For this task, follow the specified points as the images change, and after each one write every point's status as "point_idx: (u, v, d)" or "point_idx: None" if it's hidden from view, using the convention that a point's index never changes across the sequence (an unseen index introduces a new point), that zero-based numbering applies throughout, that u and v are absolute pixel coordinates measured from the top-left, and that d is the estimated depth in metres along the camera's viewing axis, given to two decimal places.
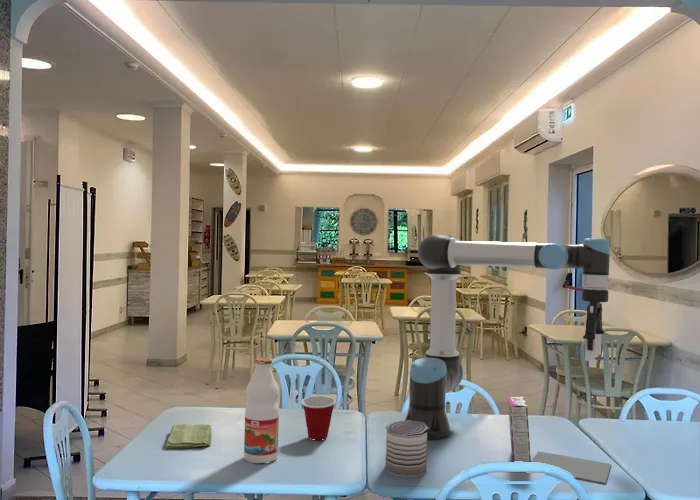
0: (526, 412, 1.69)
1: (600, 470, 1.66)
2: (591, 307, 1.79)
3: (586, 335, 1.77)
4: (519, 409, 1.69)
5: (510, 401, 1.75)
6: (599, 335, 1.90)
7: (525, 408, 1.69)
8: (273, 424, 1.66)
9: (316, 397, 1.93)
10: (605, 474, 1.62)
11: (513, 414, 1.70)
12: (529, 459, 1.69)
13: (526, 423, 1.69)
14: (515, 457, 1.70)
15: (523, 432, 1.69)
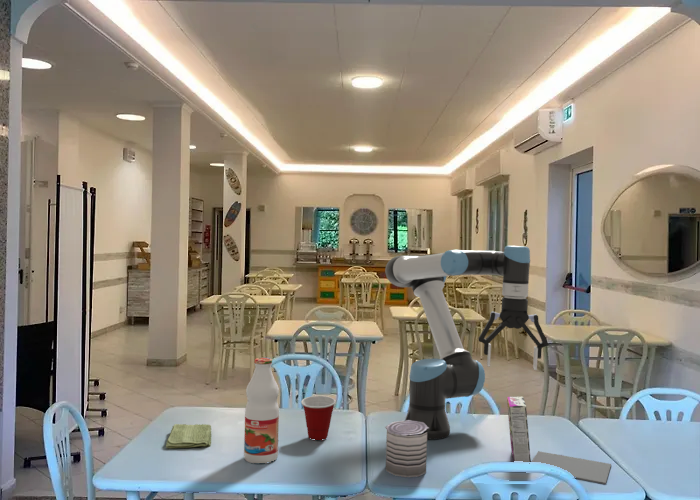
0: (525, 412, 1.69)
1: (600, 470, 1.66)
2: (491, 313, 1.82)
3: (478, 338, 1.84)
4: (518, 410, 1.69)
5: (509, 401, 1.75)
6: (535, 349, 1.80)
7: (524, 408, 1.69)
8: (273, 424, 1.66)
9: (316, 397, 1.93)
10: (605, 474, 1.62)
11: (512, 415, 1.70)
12: (529, 459, 1.69)
13: (525, 423, 1.69)
14: (515, 457, 1.70)
15: (523, 433, 1.69)
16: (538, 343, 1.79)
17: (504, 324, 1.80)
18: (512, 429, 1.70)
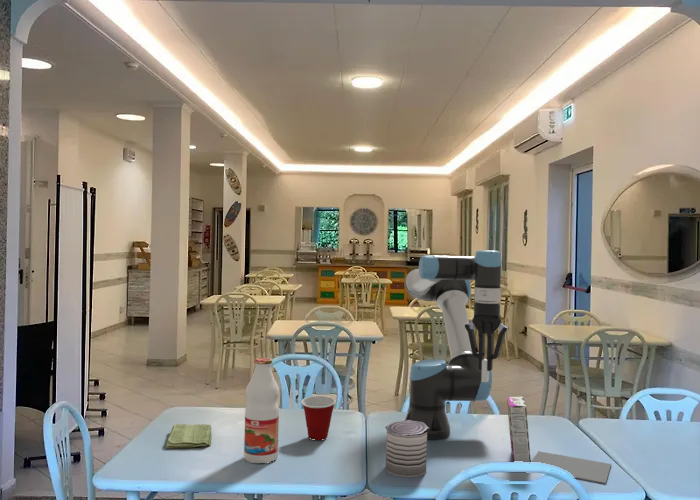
0: (525, 412, 1.69)
1: (600, 470, 1.66)
2: None
3: None
4: (518, 410, 1.69)
5: (509, 401, 1.75)
6: None
7: (524, 408, 1.69)
8: (273, 424, 1.66)
9: (316, 397, 1.93)
10: (605, 474, 1.62)
11: (512, 415, 1.70)
12: (529, 459, 1.69)
13: (525, 423, 1.69)
14: (515, 457, 1.70)
15: (523, 433, 1.69)
16: (489, 355, 1.78)
17: (480, 331, 1.79)
18: (512, 429, 1.70)
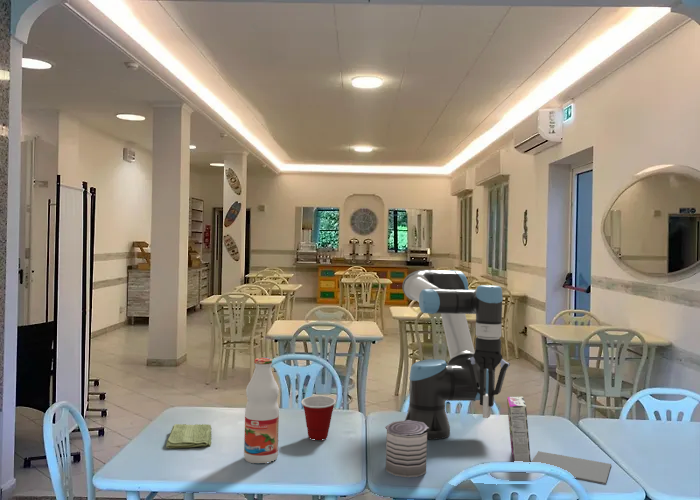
0: (525, 412, 1.69)
1: (600, 470, 1.66)
2: None
3: None
4: (518, 410, 1.69)
5: (509, 401, 1.75)
6: None
7: (524, 408, 1.69)
8: (273, 424, 1.66)
9: (316, 397, 1.93)
10: (605, 474, 1.62)
11: (512, 415, 1.70)
12: (529, 459, 1.69)
13: (525, 423, 1.69)
14: (515, 457, 1.70)
15: (523, 433, 1.69)
16: (490, 391, 1.77)
17: (481, 367, 1.78)
18: (512, 429, 1.70)
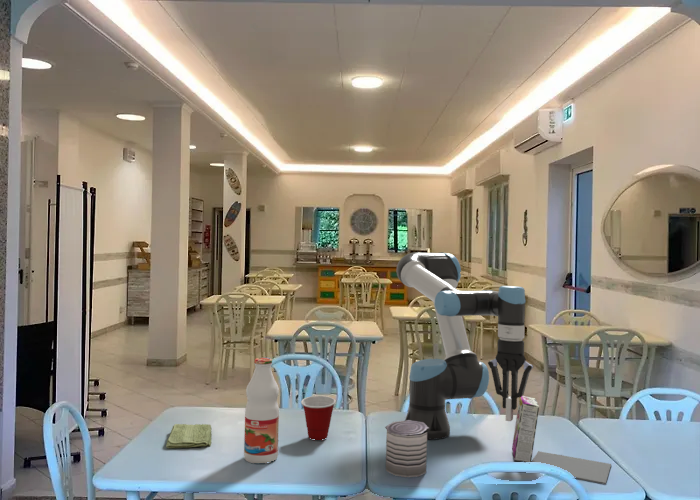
0: (537, 412, 1.69)
1: (600, 470, 1.66)
2: None
3: None
4: (531, 408, 1.69)
5: (522, 399, 1.75)
6: None
7: (537, 408, 1.69)
8: (273, 424, 1.66)
9: (316, 397, 1.93)
10: (605, 474, 1.62)
11: (524, 412, 1.70)
12: (530, 459, 1.69)
13: (534, 423, 1.69)
14: (516, 454, 1.70)
15: (530, 432, 1.69)
16: (513, 393, 1.74)
17: (504, 369, 1.75)
18: (520, 426, 1.70)
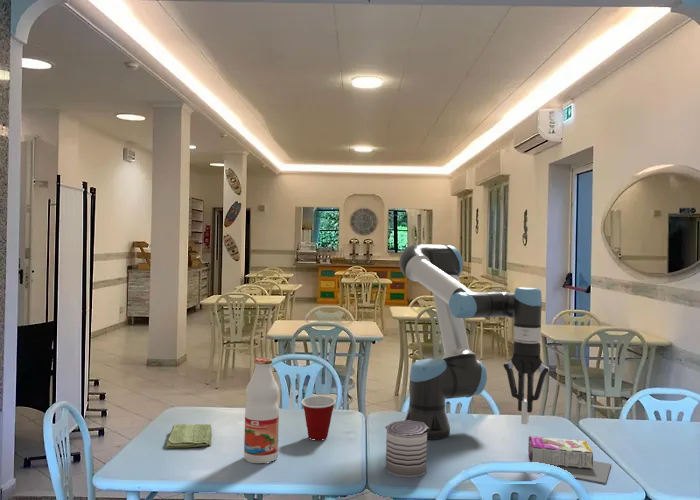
0: (585, 467, 1.66)
1: (600, 470, 1.66)
2: None
3: None
4: (588, 461, 1.66)
5: (589, 447, 1.71)
6: None
7: (590, 467, 1.65)
8: (273, 424, 1.66)
9: (316, 397, 1.93)
10: (605, 474, 1.62)
11: (583, 454, 1.66)
12: None
13: (574, 465, 1.66)
14: (538, 449, 1.69)
15: (564, 461, 1.67)
16: (529, 396, 1.72)
17: (520, 372, 1.73)
18: (568, 451, 1.67)
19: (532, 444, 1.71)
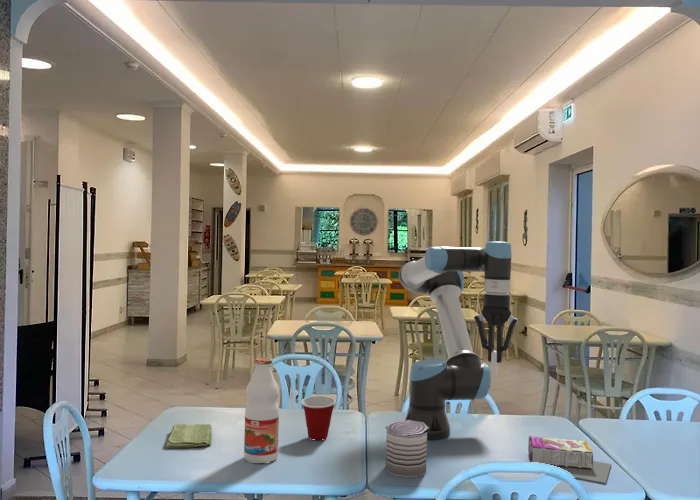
0: (585, 467, 1.66)
1: (600, 470, 1.66)
2: None
3: None
4: (588, 461, 1.66)
5: (589, 447, 1.71)
6: None
7: (590, 467, 1.65)
8: (273, 424, 1.66)
9: (316, 397, 1.93)
10: (605, 474, 1.62)
11: (583, 454, 1.66)
12: None
13: (574, 465, 1.66)
14: (538, 449, 1.69)
15: (564, 461, 1.67)
16: (499, 347, 1.77)
17: (490, 323, 1.78)
18: (568, 451, 1.67)
19: (532, 444, 1.71)
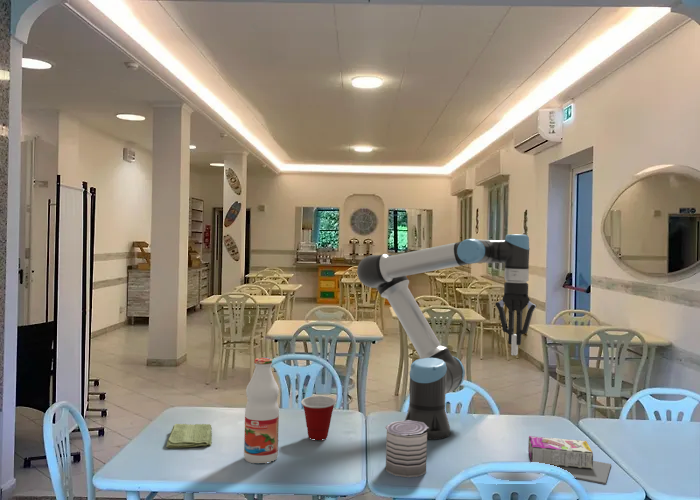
0: (585, 467, 1.66)
1: (600, 470, 1.66)
2: None
3: None
4: (588, 461, 1.66)
5: (589, 447, 1.71)
6: None
7: (590, 467, 1.65)
8: (273, 424, 1.66)
9: (316, 397, 1.93)
10: (605, 474, 1.62)
11: (583, 454, 1.66)
12: None
13: (574, 465, 1.66)
14: (538, 449, 1.69)
15: (564, 461, 1.67)
16: (518, 330, 1.94)
17: (510, 309, 1.94)
18: (568, 451, 1.67)
19: (532, 444, 1.71)
